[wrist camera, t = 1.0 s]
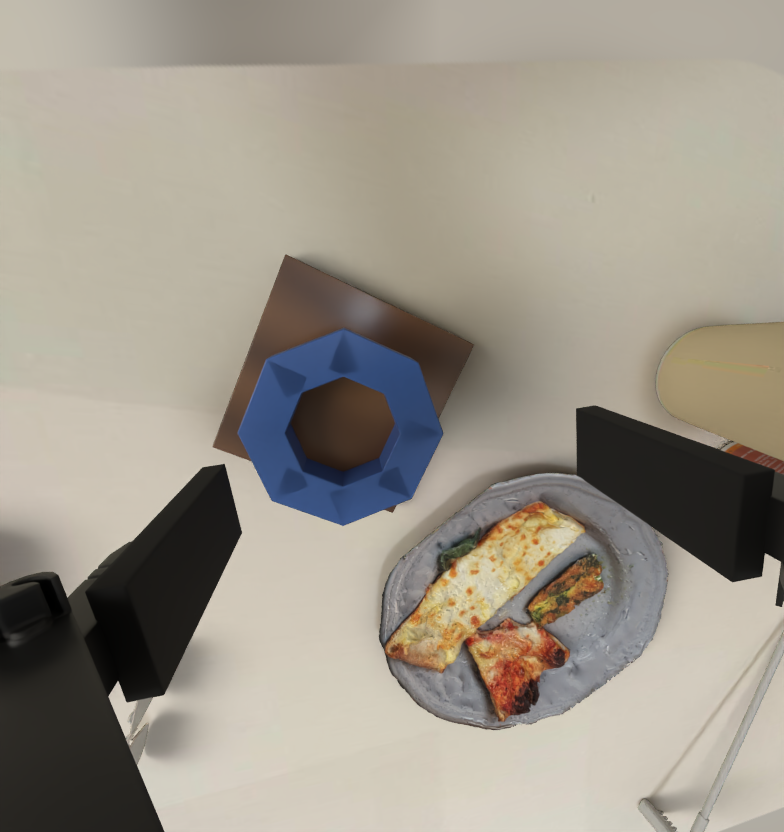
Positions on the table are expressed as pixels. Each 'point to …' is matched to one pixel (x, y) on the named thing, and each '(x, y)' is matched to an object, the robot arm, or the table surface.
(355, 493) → the ring
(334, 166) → the table surface
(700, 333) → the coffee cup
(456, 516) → the food plate
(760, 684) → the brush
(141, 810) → the robot arm
